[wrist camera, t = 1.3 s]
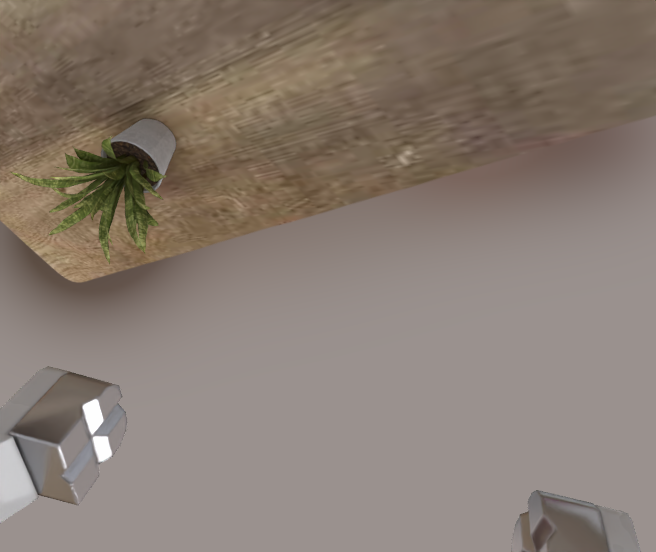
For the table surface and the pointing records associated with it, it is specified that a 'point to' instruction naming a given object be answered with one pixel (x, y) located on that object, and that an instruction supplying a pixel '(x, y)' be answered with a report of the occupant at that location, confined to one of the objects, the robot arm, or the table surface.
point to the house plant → (117, 179)
